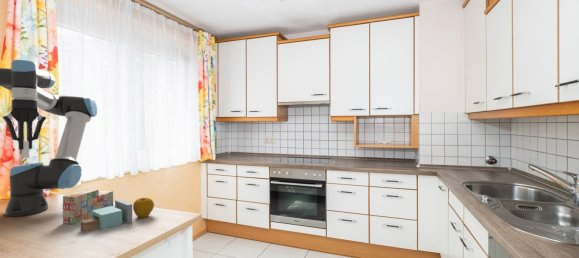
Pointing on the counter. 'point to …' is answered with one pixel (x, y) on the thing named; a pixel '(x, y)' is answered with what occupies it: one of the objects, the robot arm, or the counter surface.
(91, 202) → the stack of blocks
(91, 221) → the brown wooden bar
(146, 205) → the apple
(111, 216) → the block
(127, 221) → the wall
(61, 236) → the counter surface
